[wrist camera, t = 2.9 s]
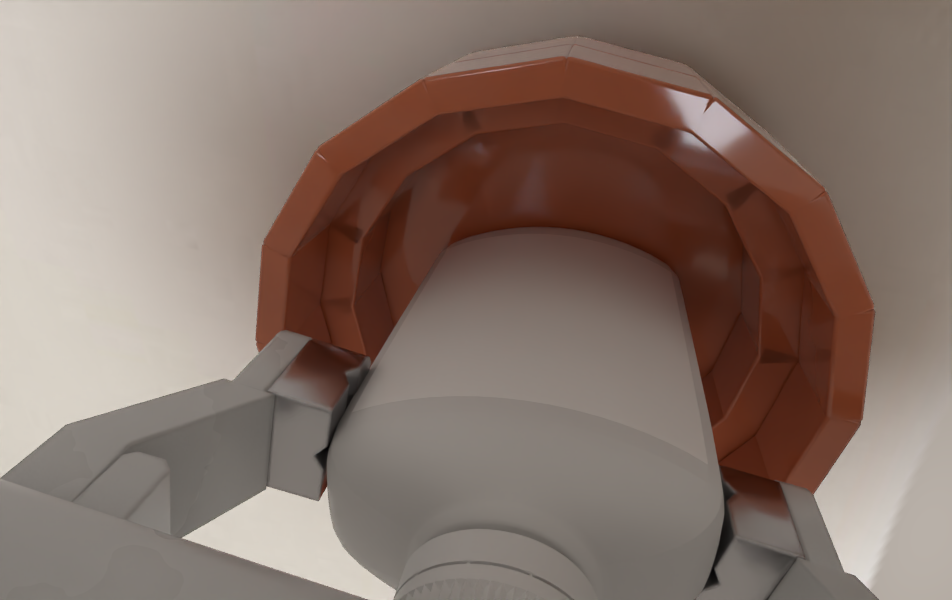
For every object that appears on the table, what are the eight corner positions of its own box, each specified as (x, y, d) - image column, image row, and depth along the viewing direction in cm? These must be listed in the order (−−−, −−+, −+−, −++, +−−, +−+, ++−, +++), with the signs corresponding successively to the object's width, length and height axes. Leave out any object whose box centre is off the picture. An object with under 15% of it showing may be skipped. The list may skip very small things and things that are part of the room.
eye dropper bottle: (504, 151, 14) (183, 675, 3) (710, 286, 14) (970, 1099, 4) (413, 295, 16) (41, 894, 6) (596, 408, 17) (572, 1155, 6)
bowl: (375, -22, 13) (278, -23, 10) (900, 118, 13) (1029, 180, 9) (320, 389, 19) (243, 498, 15) (688, 504, 18) (709, 649, 14)
